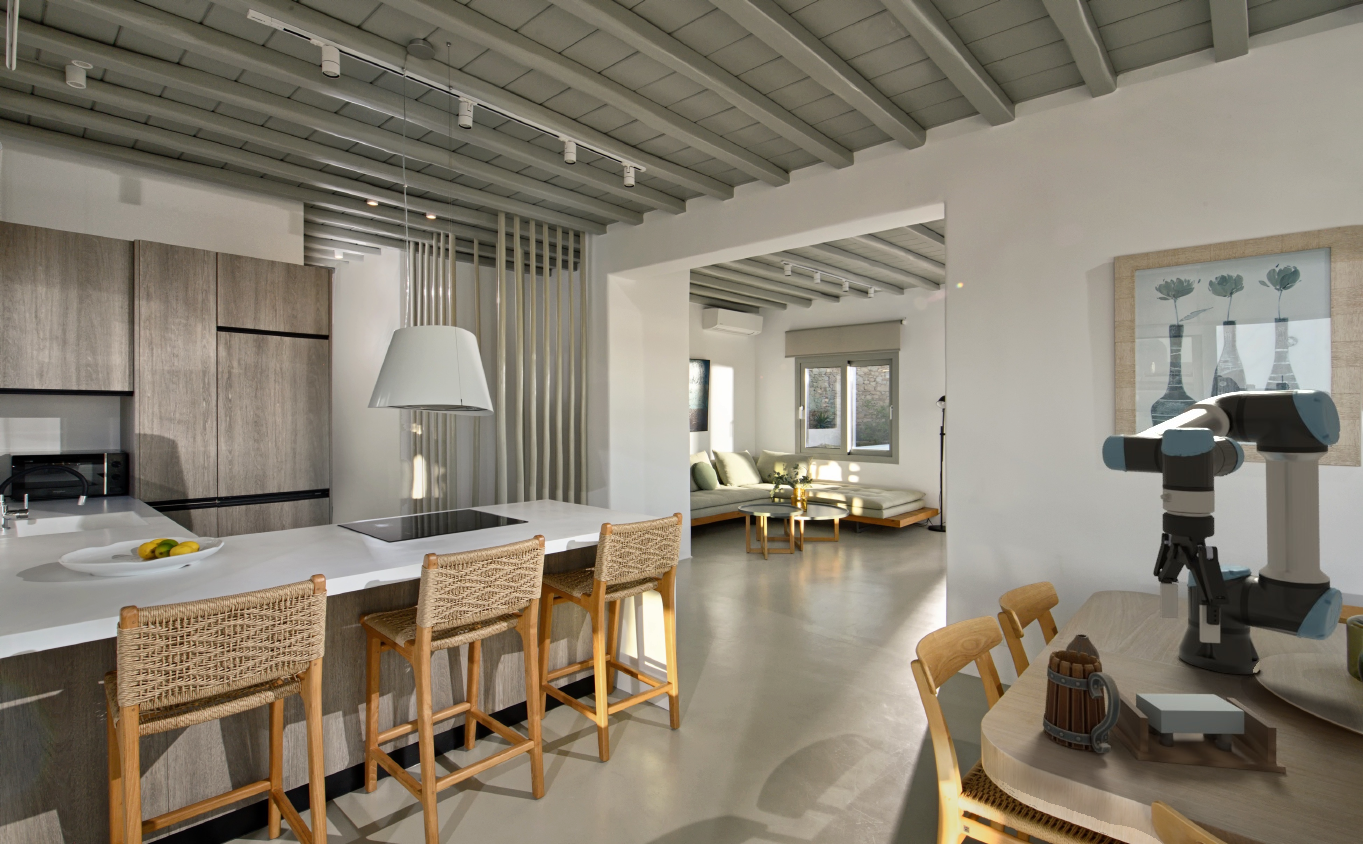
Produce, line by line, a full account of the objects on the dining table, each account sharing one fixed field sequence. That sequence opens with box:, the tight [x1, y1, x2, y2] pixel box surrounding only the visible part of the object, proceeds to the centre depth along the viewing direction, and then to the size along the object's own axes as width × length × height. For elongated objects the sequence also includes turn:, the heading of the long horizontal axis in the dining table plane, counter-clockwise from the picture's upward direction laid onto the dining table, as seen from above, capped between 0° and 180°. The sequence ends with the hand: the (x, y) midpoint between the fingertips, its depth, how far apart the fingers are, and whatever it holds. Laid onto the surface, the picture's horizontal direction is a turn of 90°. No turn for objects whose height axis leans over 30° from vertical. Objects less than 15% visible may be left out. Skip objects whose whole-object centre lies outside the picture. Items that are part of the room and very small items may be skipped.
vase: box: [1065, 633, 1101, 661], centre depth 154 cm, size 7×7×9 cm
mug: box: [1042, 649, 1120, 754], centre depth 121 cm, size 16×11×15 cm
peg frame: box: [1110, 689, 1287, 774], centre depth 120 cm, size 22×14×7 cm, turn 78°
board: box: [1135, 693, 1244, 734], centre depth 120 cm, size 14×7×4 cm, turn 88°
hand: (1188, 629), depth 121 cm, fingers open, 13 cm apart
